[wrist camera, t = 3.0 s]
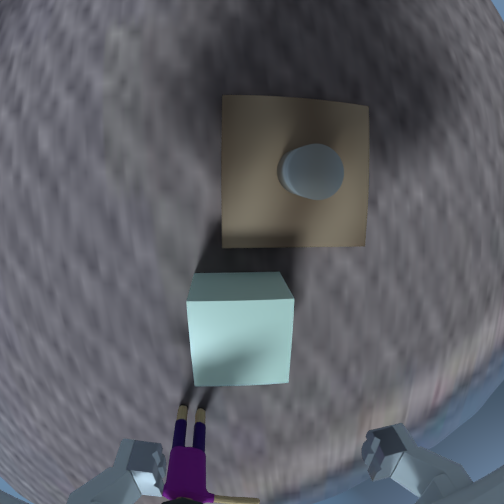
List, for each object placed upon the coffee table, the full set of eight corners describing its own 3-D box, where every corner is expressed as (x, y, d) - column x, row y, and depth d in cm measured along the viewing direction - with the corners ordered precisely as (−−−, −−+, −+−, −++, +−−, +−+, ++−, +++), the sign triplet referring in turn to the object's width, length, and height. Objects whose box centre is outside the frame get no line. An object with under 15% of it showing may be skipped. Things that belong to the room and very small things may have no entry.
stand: (222, 244, 21) (221, 266, 16) (222, 98, 19) (221, 76, 14) (359, 243, 22) (391, 261, 17) (362, 108, 20) (397, 95, 15)
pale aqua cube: (199, 346, 23) (194, 386, 18) (194, 273, 22) (186, 301, 17) (276, 344, 24) (288, 382, 19) (279, 271, 22) (294, 298, 17)
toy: (134, 410, 24) (98, 548, 10) (136, 366, 23) (84, 521, 9) (244, 430, 26) (261, 570, 11) (259, 389, 25) (289, 547, 10)
